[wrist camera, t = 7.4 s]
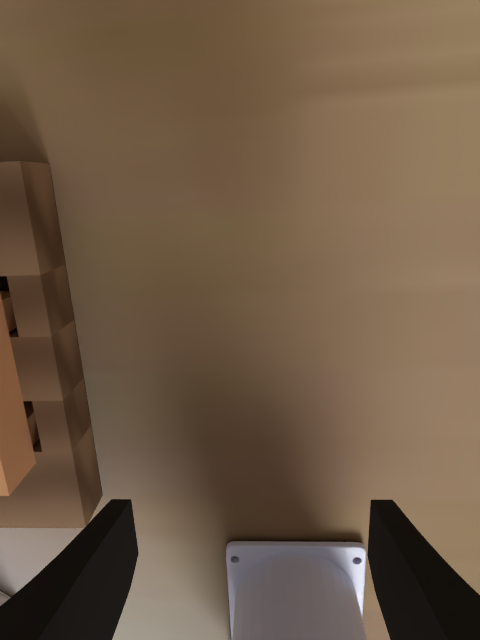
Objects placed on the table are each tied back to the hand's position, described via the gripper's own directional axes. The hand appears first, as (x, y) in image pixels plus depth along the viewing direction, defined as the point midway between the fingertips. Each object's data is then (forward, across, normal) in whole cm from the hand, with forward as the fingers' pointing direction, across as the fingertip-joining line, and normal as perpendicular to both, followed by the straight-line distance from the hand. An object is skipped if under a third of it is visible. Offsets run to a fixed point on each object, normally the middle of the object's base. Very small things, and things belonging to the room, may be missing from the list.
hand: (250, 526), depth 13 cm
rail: (+10, +12, -2) cm, 16 cm away
